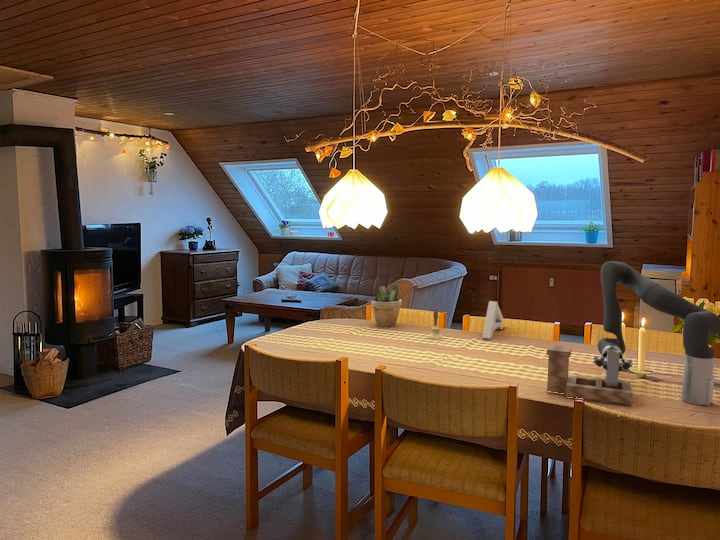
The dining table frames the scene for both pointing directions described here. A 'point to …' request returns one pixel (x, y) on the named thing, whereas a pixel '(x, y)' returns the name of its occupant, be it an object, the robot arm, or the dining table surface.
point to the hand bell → (435, 328)
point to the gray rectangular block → (612, 368)
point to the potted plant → (386, 306)
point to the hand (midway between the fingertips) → (612, 368)
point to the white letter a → (492, 320)
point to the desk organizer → (582, 381)
